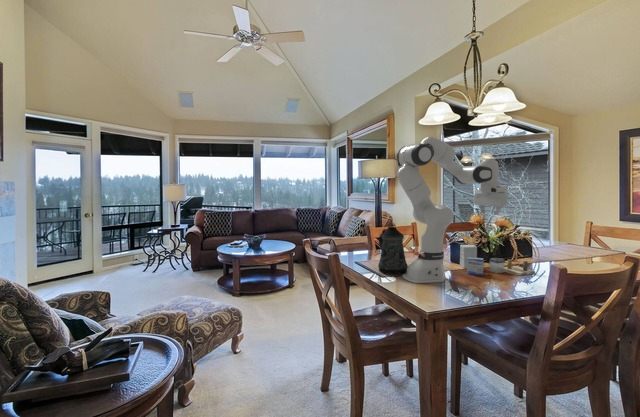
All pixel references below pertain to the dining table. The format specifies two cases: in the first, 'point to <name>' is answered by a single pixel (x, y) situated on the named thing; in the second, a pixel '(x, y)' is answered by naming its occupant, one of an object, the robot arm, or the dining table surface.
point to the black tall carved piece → (392, 252)
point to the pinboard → (518, 269)
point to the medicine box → (475, 266)
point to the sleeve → (497, 265)
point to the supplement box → (467, 254)
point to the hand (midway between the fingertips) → (489, 213)
